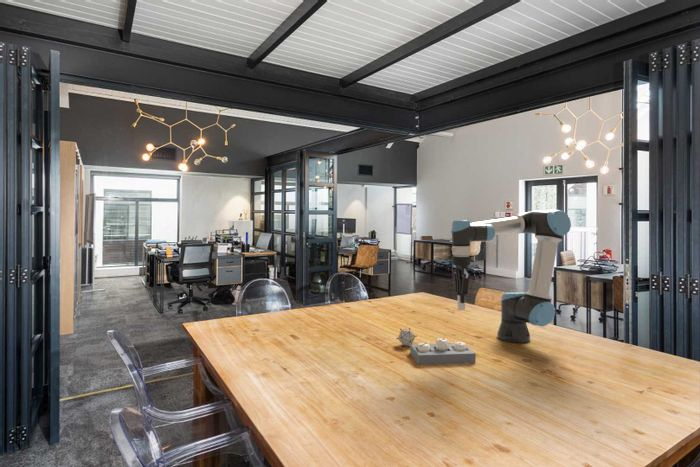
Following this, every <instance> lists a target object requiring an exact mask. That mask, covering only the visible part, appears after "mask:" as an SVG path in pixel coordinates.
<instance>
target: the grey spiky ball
mask: <svg viewBox="0 0 700 467" xmlns="http://www.w3.org/2000/svg"><path fill="white" fill-rule="evenodd" d="M417 336H418V335H415V334H414V333H413V332H412V331H411V328H410V327H409V328H408V329H407V328H406V329H402V328H400V332H399V334H398V337H396V340H398V341H399V342H400V343H401V345H402V348H404V346H410V345H413V343H414V340H415V338H417Z"/></svg>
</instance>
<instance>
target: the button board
mask: <svg viewBox="0 0 700 467" xmlns="http://www.w3.org/2000/svg"><path fill="white" fill-rule="evenodd" d="M418 344H419V343H417V344H415V343H414V344H413V343H412V345H409V347H410V348H409V350H410V351H409V354H410V355H411V357H412V358H413V359H414V361H415V362H416V363H417V365H418V366H425V365H426V366H429V365H431V366H432V365H451V364H452V365H453V364H454V365H455V364H456V365H457V364H476V359H477V358H476V356H477V355H476V352H475V351H473V350H472V349H471V348H469V347H468V346H467V345H466V350H463V351H455V350H454V342H453V343H452V342H451V343H449V342H448V351H436V343H428V344H429V345H430V352H418Z"/></svg>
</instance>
